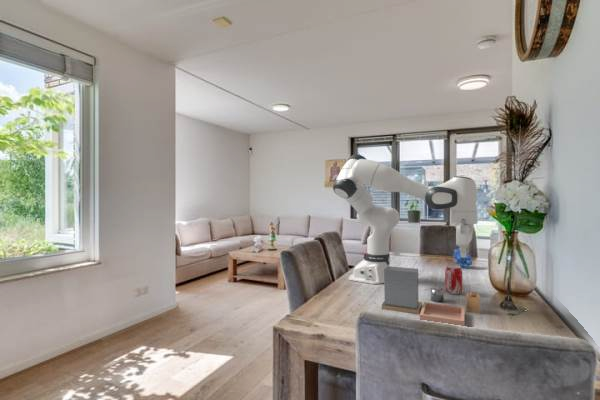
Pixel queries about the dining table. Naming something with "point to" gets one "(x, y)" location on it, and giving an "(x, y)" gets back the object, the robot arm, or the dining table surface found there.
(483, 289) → the dining table surface
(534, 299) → the dining table surface
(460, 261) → the grapes
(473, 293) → the oak wood brick
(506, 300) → the eiffel tower figurine
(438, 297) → the steel cylinder
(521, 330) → the dining table surface
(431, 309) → the tray
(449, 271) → the soda can
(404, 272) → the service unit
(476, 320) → the dining table surface
